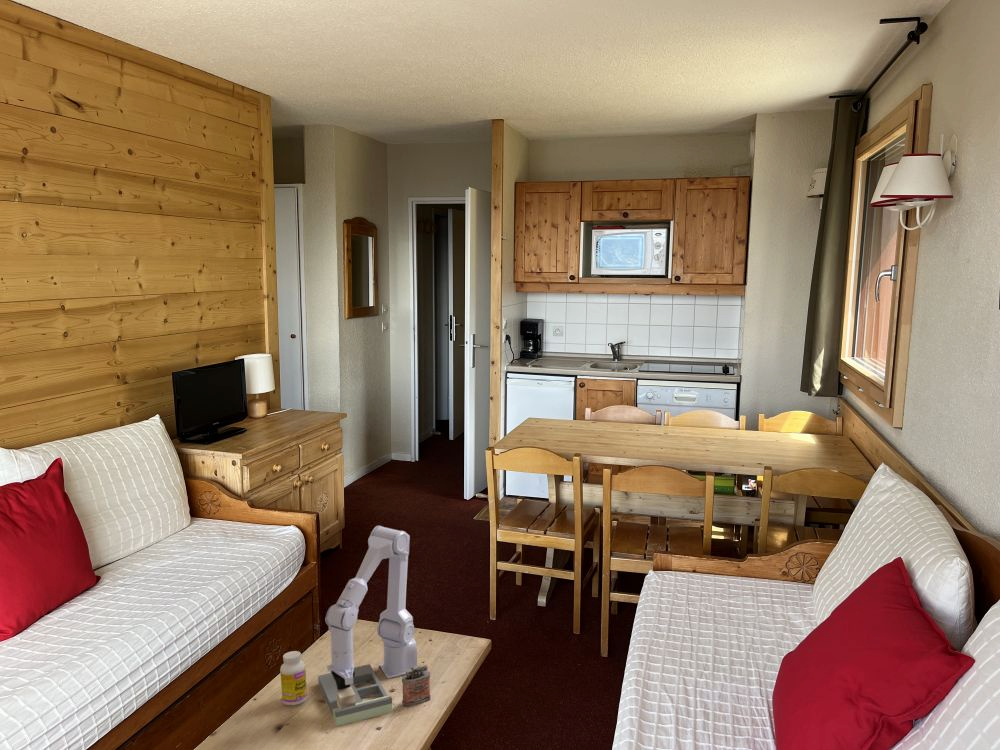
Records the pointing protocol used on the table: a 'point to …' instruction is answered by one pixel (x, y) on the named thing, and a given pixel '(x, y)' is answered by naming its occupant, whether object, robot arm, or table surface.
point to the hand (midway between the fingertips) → (343, 696)
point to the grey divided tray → (356, 697)
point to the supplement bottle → (293, 679)
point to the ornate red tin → (416, 686)
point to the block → (345, 697)
